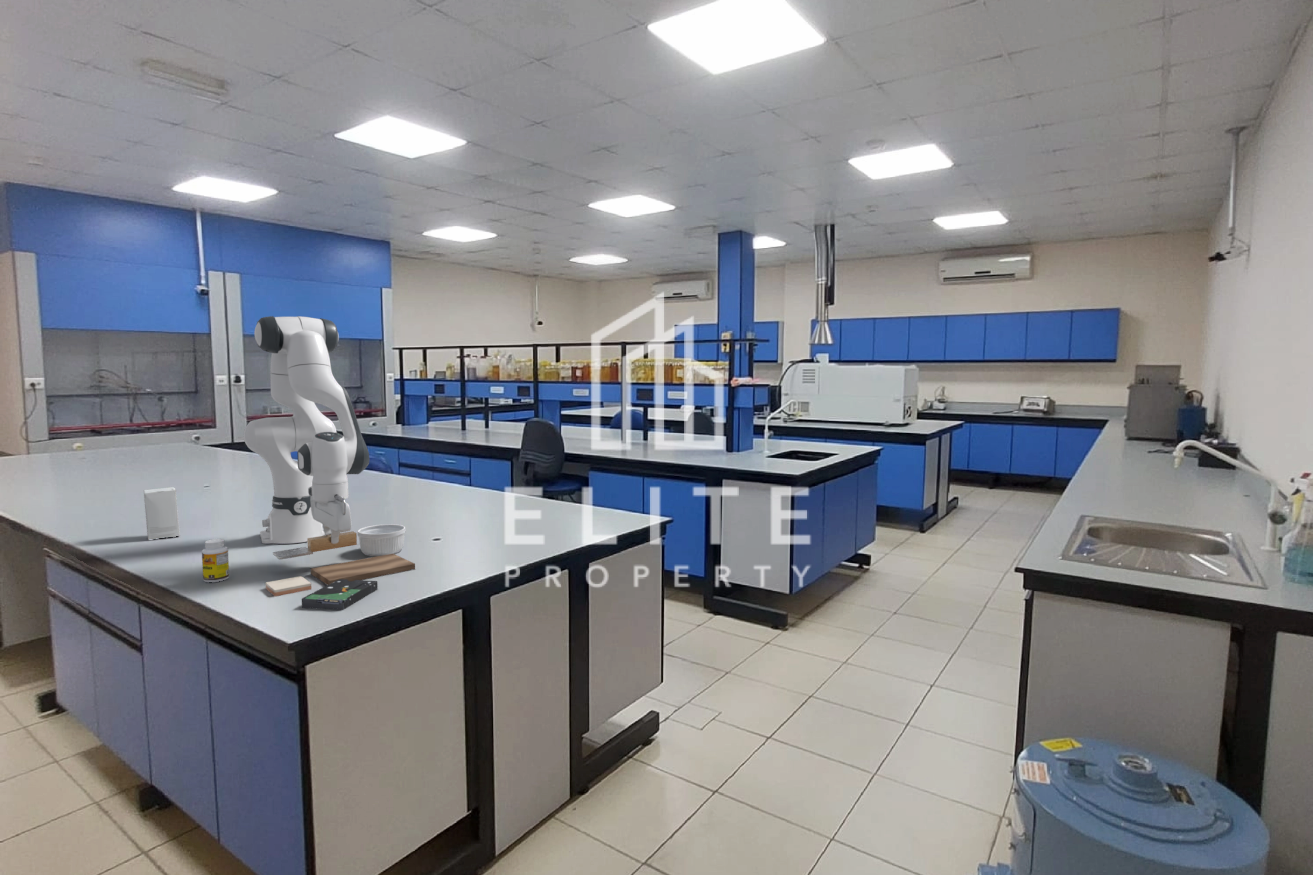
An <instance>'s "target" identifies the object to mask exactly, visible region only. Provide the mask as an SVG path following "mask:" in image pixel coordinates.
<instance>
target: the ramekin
mask: <svg viewBox="0 0 1313 875" xmlns="http://www.w3.org/2000/svg"><path fill="white" fill-rule="evenodd" d="M405 533H406V526H405V525H402V524H395V523H390V524H389V523H387V524H376V525H375V524H374V525H369V526H364V527H361V528H359V529H358V530H357V536H358V540H359V545H360V551H361V552H362V554H364V555H365V556H368V557H377V556H382V555H388V554H395V555H396V554H397V553H400V552H401V551H402V550H403V548H404V544H405Z"/></svg>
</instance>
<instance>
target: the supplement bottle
mask: <svg viewBox="0 0 1313 875" xmlns="http://www.w3.org/2000/svg"><path fill="white" fill-rule="evenodd" d="M224 541H225V540H224V539H221V538H213V539H209V540H206V541H204V548H203V549H202V550H201V560H202V562H201V563H202V565H201V566H202V580H203V581H204V582H205V583H209V582H212V583H219V581H220V582H223V580H224V581H226V580H228V579H229V577H230V565H229V564H230V562H229V549H228V547H227V546H225V542H224Z"/></svg>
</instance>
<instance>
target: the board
mask: <svg viewBox="0 0 1313 875" xmlns="http://www.w3.org/2000/svg"><path fill="white" fill-rule="evenodd" d="M411 569H413V570H416V563H414V562H413V561H410V560H409V559H406V558H403V557H401V556H399V555H397V554H396V553H395V554H388V555H382V556H370V557H366V558H362V559H357V560H351V561H346V562H345V561H344V562H340V563H334V564H329V565H323V566H318V567H313V568H310V575H311V576H313V577H314V578H316V579H317V580H319V581H321V582H322V583H324V584H325V585H326V586H327V585H329V584H331V583H333V582H335V581H336V580H339V579H348V581H355V580H368V579H372V578H379V577H383V576H388V575H393V574H398V573H403V572H408V571H412V570H411Z"/></svg>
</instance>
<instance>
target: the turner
mask: <svg viewBox="0 0 1313 875" xmlns="http://www.w3.org/2000/svg"><path fill="white" fill-rule="evenodd" d="M357 536H358V532H356V531H352V530H351V531H346V532H340V534H339V542H338V543H335V544H332V543H331V542H330V537H331V535H326V536H325V535H323V536H319V537H313V538H307V540H308V541H307V546H302V547H298V548H297V547H296V548H290V549H284V550H278V551H277V550H276V551H273V552H272V555H273V556H275V557H276V558H277V559H278V560H280V561H281V560H286V559H292V558H299V557H303V556H310V555H314V553H316V552H321V551H327V550H328V551H329V550H335V549H341V548H346V547H353V546H357V545H358V544H357V543H358V541H357Z"/></svg>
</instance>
